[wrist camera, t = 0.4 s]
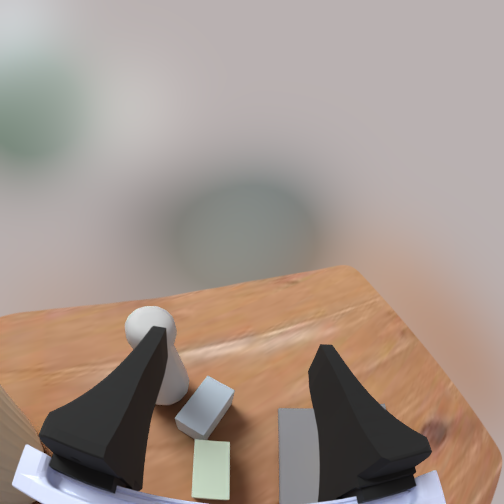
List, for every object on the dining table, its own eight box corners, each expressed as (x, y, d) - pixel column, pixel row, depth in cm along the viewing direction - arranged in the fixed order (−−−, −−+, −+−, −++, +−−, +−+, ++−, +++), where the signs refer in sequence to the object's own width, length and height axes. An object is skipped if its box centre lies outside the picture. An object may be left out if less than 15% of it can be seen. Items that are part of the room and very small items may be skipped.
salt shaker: (188, 368, 31) (185, 294, 24) (192, 411, 27) (186, 351, 19) (141, 368, 30) (119, 293, 22) (139, 410, 26) (109, 349, 18)
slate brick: (203, 444, 24) (203, 435, 22) (177, 429, 25) (174, 417, 23) (231, 404, 28) (234, 390, 26) (207, 390, 29) (207, 375, 27)
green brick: (226, 500, 19) (229, 499, 17) (193, 497, 19) (191, 496, 16) (226, 450, 24) (229, 442, 21) (196, 447, 24) (195, 439, 21)
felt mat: (398, 501, 18) (400, 500, 18) (279, 522, 17) (280, 522, 17) (382, 405, 29) (384, 403, 29) (278, 409, 28) (278, 408, 28)
